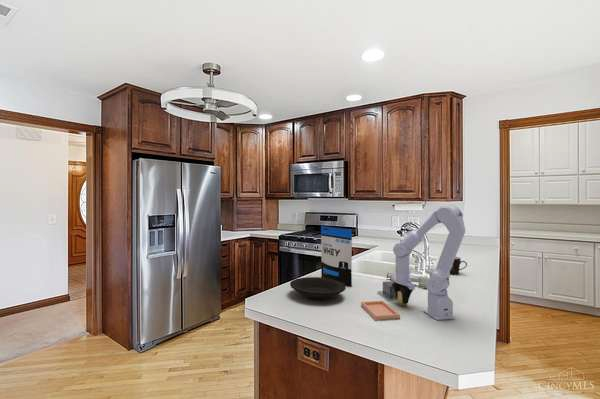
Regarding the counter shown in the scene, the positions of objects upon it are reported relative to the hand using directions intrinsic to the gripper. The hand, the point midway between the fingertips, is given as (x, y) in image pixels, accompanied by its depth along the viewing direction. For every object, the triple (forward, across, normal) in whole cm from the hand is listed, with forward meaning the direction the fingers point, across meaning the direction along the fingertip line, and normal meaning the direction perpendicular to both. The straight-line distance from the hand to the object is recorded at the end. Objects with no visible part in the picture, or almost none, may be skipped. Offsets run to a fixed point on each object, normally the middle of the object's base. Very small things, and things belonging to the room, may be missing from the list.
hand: (402, 301), depth 135 cm
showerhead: (+2, +28, -38) cm, 47 cm away
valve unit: (+2, +12, -2) cm, 12 cm away
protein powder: (+2, +42, +14) cm, 44 cm away
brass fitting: (+1, 0, 0) cm, 1 cm away
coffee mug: (+2, +37, -61) cm, 71 cm away
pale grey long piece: (+2, +28, -22) cm, 36 cm away
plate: (+2, +22, +32) cm, 39 cm away
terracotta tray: (+2, -4, +14) cm, 14 cm away
